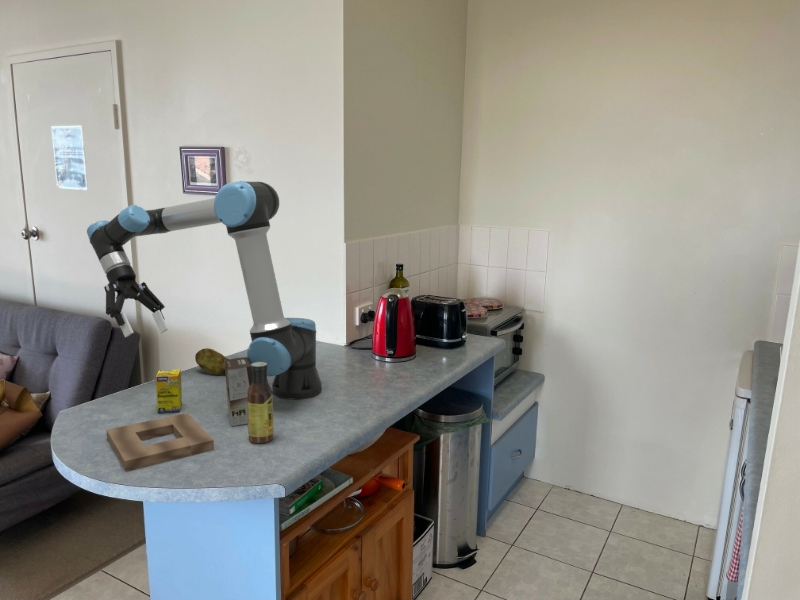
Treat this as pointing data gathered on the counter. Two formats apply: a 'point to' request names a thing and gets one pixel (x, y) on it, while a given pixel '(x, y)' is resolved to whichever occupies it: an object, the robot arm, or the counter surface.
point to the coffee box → (238, 389)
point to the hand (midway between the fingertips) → (147, 333)
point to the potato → (211, 361)
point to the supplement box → (169, 391)
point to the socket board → (137, 455)
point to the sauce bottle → (260, 405)
